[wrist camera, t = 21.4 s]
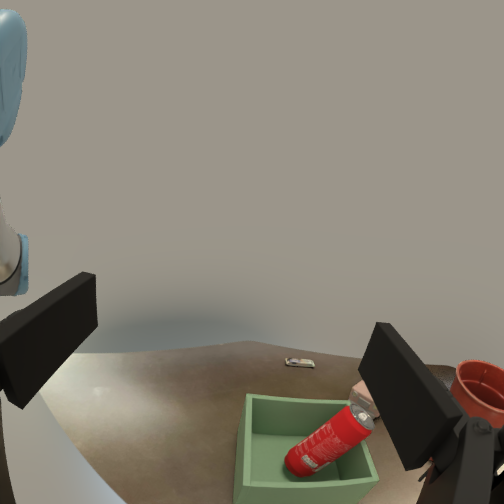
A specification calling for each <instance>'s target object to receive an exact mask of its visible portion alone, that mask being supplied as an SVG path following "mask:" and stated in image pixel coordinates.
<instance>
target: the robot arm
mask: <svg viewBox="0 0 504 504" xmlns="http://www.w3.org/2000/svg"><path fill="white" fill-rule="evenodd" d="M26 59H27V31H26V26H25V23H24V21H23V19H22V18H21V17H20V15H19V14H18V13H17V12H15V11H13V10H9V9H0V147H1V146H2V145H3V144H4V143H5V142H6V141H7V139H8V137H9V136H10V134H11V132H12V129H13V126H14V124H15V120H16V117H17V113H18V109H19V104H20V100H21V94H22V82H23V80H24V76H25V68H26ZM27 291H28V237H27V236H26V235H22V234H18V235H17V234H16V232H15V231H14V229H13V228H12V227H11V226H10V225H8V224H7V223H6V219H5V215H4V211H3V207H2V202H1V198H0V296H10V295H11V296H17V295H22V294H25V293H26V292H27ZM97 326H98V321H97V305H96V275H95V274H90V273H87V272H81V273H79V274H78V275H76V276H74V277H73V278H71V279H70V280H68V281H66V282H65V283H63V284H61V285H60V286H58V287H57V288H55V289H53V290H52V291H50V292H49V293H47V294H46V295H44V296H43V297H41V298H39V299H38V300H37V301H35V302H33V303H32V304H30V305H29V306H27V307H26V308H24V309H21V310H18V311H15V312H14V313H12V314H11V315H9V316H8V317H7V318H6V319H3V320H2V321H0V391H1V390H2V389H3V390H4V392H5V394H6V397H7V399H8V401H9V402H11V403H12V404H14V405H16V406H17V407H19V408H21V409H22V410H23V408H24V407H25V406H26V405H27V404H28V403H29V401H30V400H31V399H32V398H33V397H34V395H35V394H36V393H37V392H38V391H39V390H40V389H41V387H42V386H43V385H44V384H45V383H46V382H47V381H48V379H49V378H50V377H51V376H52V375H53V374H54V373H55V372H56V370H57V369H58V368H59V367H60V366H61V365H62V364H63V363H64V362H65V361H66V359H67V358H68V357H69V356H70V355H71V354H72V353H73V352H74V351H75V350H76V349H77V348H78V346H79V345H80V344H81V343H82V342H83V341H84V340H85V339H86V338H87V337H88V336H89V335H90V334H91V333H92V332H93V331H94V330H95V329H96V328H97ZM358 371H359V373H360V375H361V377H362V379H363V381H364V383H365V385H366V387H367V389H368V391H369V393H370V395H371V397H372V399H373V401H374V403H375V405H376V407H377V410H378V412H379V414H380V416H381V418H382V420H383V422H384V424H385V426H386V429H387V431H388V433H389V435H390V437H391V439H392V442H393V444H394V446H395V448H396V450H397V453H398V455H399V457H400V459H401V461H402V464H403V466H404V468H405V471H409V470H413V469H417V468H421V467H422V466H423V465H424V464H425V463H426V462H427V461H428V460H429V459H430V457H431V458H432V460H433V462H434V463H433V464H432V465H431V466H430V468H429V469H428V470H427V471H426V472H425V473H424V474H423V475H422V476H421V477H420V478H419V480H418V481H419V482H420V481H421V480H422V479H423V478H424V477H426V479H425V482H424V485H423V488H422V490H421V493H420V496H419V498H418V501H417V503H416V504H504V471H503V472H502V473H501V474H500V475H498V474H497V470H498V469H499V468H500V467H501V466H502V465H503V464H504V425H503V426H502V427H501V428H493V427H492V425H491V424H490V423H489V422H488V421H487V420H486V419H484V418H482V417H477V416H475V417H471V418H470V417H469V415H468V414H467V413H466V411H465V410H464V409H463V407H462V406H461V405H460V403H459V402H458V401H457V400H456V398H455V397H453V394H452V393H451V392H450V391H448V390H449V389H448V388H447V387H446V386H445V384H444V383H443V382H442V381H441V380H439V379H438V378H437V377H435V376H434V375H433V374H432V373H431V372H430V371H429V369H428V368H427V367H426V366H425V364H424V363H423V362H422V361H421V360H420V358H419V357H418V356H417V355H416V354H415V352H414V351H413V350H412V349H411V348H410V346H409V345H408V344H407V343H406V342H405V340H404V339H403V338H402V337H401V336H400V335H399V334H398V332H397V331H396V330H395V329H394V328H393V326H392V325H391V324H390V323H381V322H376V325H375V328H374V330H373V333H372V336H371V339H370V341H369V343H368V346H367V349H366V351H365V353H364V356H363V358H362V361H361V363H360V365H359V368H358ZM0 504H16V503H15V499H14V495H13V491H12V486H11V482H10V477H9V472H8V466H7V460H6V454H5V447H4V439H3V428H2V412H1V399H0Z"/></svg>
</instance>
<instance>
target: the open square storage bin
mask: <svg viewBox="0 0 504 504" xmlns="http://www.w3.org/2000/svg"><path fill="white" fill-rule="evenodd" d="M350 404H351V402H350V400H313V399H297V398H284V397H273V396H264V395H255V394H246V398H245V403H244V407H243V411H242V415H241V420H240V424H239V428H238V434H237V448H236V463H235V477H234V492H233V504H357V503H358V502H359V501H360V500H361V499H362V498H363V497H364V496H365V495H366V494H367V493H368V492H369V491H370V490H371V489H372V488H373V487H374V486H375V485H376V484H377V483H378V482H379V478H378V475H377V472H376V469H375V466H374V463H373V461H372V458H371V455H370V452H369V450H368V447H367V444H366V442H365V439H364V440H362V441H361V442H360V443H358V444H357V445H356V446H354V447H353V448H352V449H350V450H349V451H348V452H346V453H345V454H343V455H342V456H341V457H339V458H338V459H336V460H335V461H333V462H332V463H330V464H329V465H327V466H326V467H324V468H323V469H321V470H319V471H318V472H316V473H315V474H313V475H311V476H306V477H302V478H299V477H296V476H294V475H293V474H291V473H290V472H289V471H288V469H287V468H286V466H285V463H284V458H285V456H286V455H287V453H288V451H289V450H290V449H291V448H293V447H294V446H295V445H297V444H298V443H300V442H301V441H302V440H304V439H305V438H306V437H308V436H309V435H310V434H312V433H313V432H314V431H316V430H317V429H318V428H320V427H321V426H322V425H323V424H325V423H326V422H327V421H328V420H330V419H331V418H332V417H333V416H335V415H336V414H337V413H338V412H339V411H341V410H342V409H343V408H344V407H346V406H349V405H350Z"/></svg>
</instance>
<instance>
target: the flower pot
mask: <svg viewBox="0 0 504 504" xmlns="http://www.w3.org/2000/svg"><path fill="white" fill-rule="evenodd" d="M450 392H451V393H452V394H453V397H455V398H456V400H457V401H458V402H459V403H460V405H461V406H462V407H463V409H464V410H465V411H466V413H467V414H468V415H469V417H470V418H471V417H475V416H477V417H482V418H484V419H486V420H487V421H488V422H489V423H490V424H491V425H492V427H493V428H501V427H502V426H503V425H504V370H503V369H501V368H500V367H498V366H496V365H493V364H491V363H488V362H485V361H480V360H465V361H462V362H461V363H460V364H458V366H457V368H456V377H455V379H454V381H453V383H452V386H451V388H450ZM429 460H432V458H431V457H430V459H429ZM432 461H433V460H432Z"/></svg>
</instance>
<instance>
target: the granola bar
mask: <svg viewBox="0 0 504 504" xmlns="http://www.w3.org/2000/svg"><path fill="white" fill-rule="evenodd" d="M285 360H286V364H289V365H292V366H304V367H315V365H314V363H313V361H311V360H305V359H293V358H289V359H287V358H286V359H285Z"/></svg>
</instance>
